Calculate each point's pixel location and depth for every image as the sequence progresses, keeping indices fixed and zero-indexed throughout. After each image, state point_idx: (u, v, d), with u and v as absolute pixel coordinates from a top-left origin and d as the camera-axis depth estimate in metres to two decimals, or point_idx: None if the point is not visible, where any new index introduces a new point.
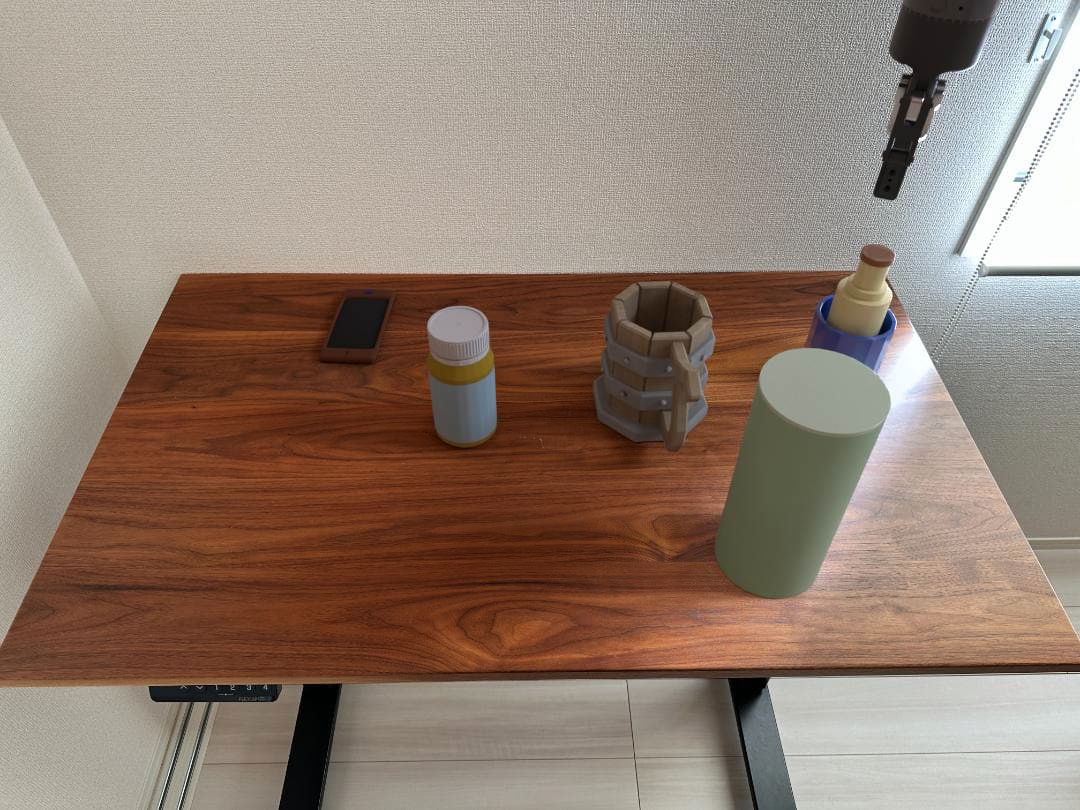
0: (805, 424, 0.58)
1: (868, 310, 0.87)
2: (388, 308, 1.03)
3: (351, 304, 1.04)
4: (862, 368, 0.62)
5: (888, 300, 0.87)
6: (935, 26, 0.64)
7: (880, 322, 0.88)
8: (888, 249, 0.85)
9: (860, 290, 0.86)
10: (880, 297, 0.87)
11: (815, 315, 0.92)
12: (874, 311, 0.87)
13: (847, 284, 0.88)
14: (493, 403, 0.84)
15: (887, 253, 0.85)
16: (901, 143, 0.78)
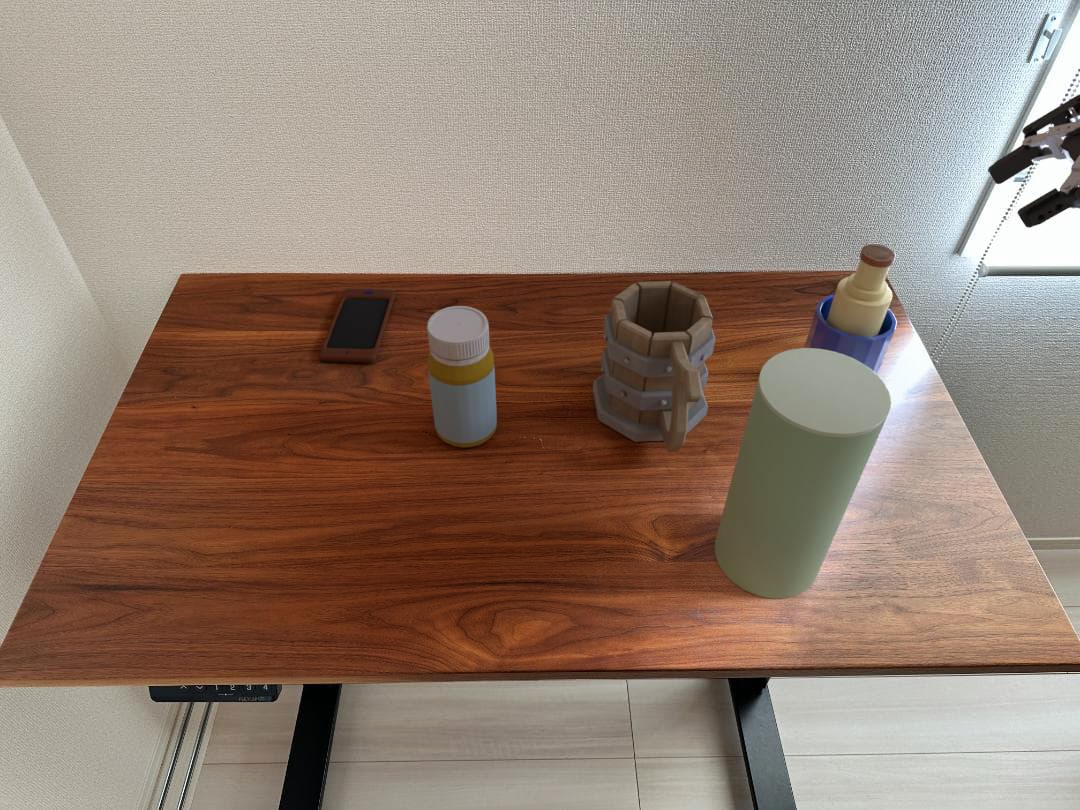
0: (805, 424, 0.58)
1: (868, 310, 0.87)
2: (388, 308, 1.03)
3: (351, 304, 1.04)
4: (862, 368, 0.62)
5: (888, 300, 0.87)
6: None
7: (880, 322, 0.88)
8: (888, 249, 0.85)
9: (860, 290, 0.86)
10: (880, 297, 0.87)
11: (815, 315, 0.92)
12: (874, 311, 0.87)
13: (847, 284, 0.88)
14: (493, 403, 0.84)
15: (887, 253, 0.85)
16: None
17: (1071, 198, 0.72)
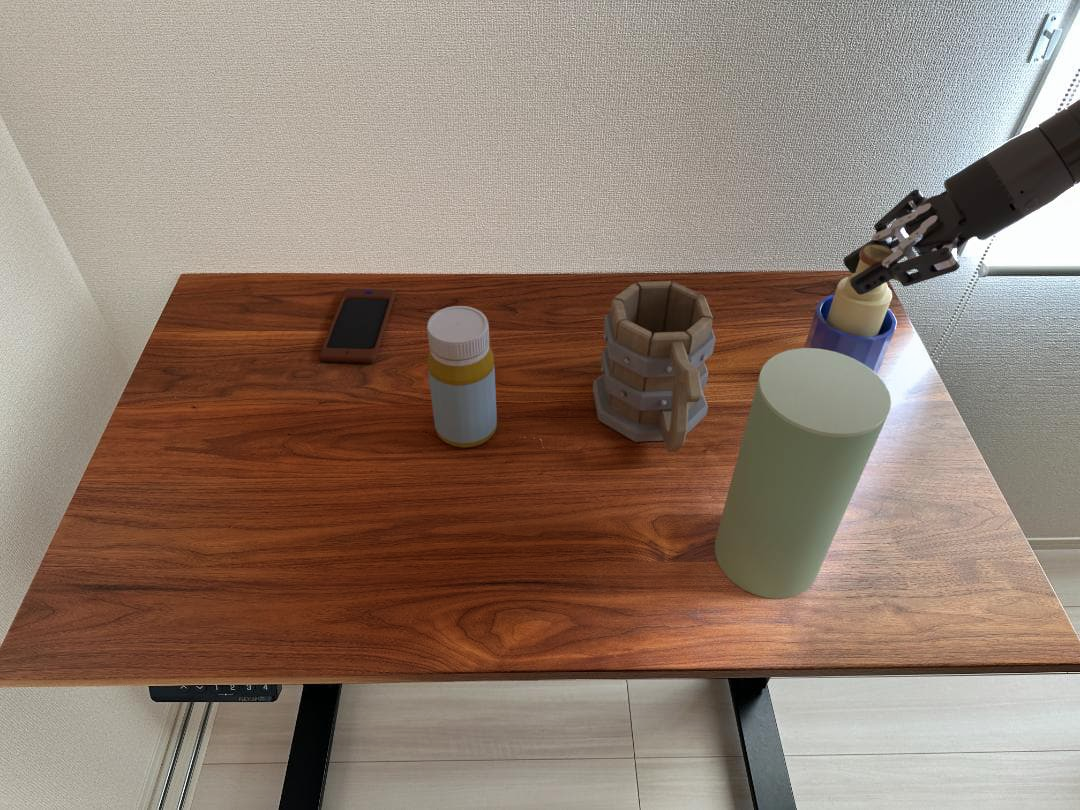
0: (805, 424, 0.58)
1: (868, 310, 0.86)
2: (388, 308, 1.03)
3: (351, 304, 1.04)
4: (862, 368, 0.62)
5: (888, 300, 0.87)
6: None
7: (880, 322, 0.88)
8: (888, 249, 0.85)
9: None
10: (880, 297, 0.87)
11: (815, 315, 0.92)
12: (874, 311, 0.87)
13: (847, 284, 0.88)
14: (493, 403, 0.84)
15: (887, 253, 0.85)
16: None
17: (890, 271, 0.82)
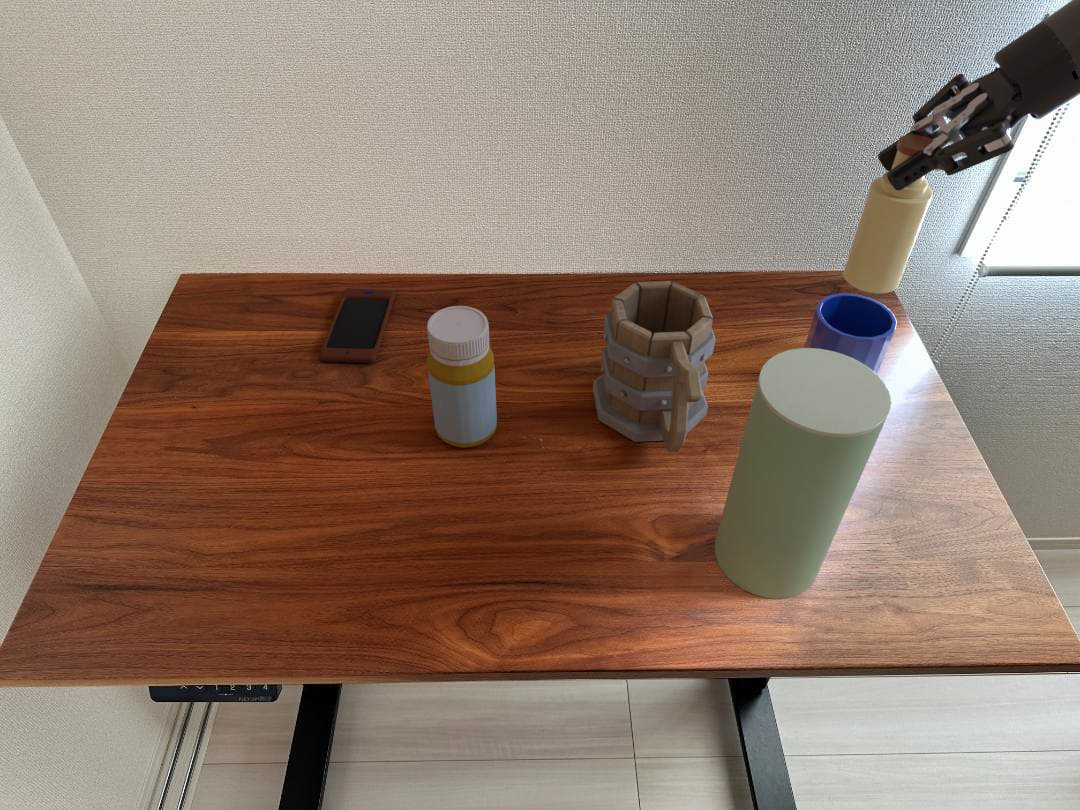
0: (805, 424, 0.58)
1: (906, 209, 0.78)
2: (388, 308, 1.03)
3: (351, 304, 1.04)
4: (862, 368, 0.62)
5: (928, 198, 0.78)
6: None
7: (919, 224, 0.80)
8: (929, 139, 0.77)
9: None
10: (919, 194, 0.78)
11: (815, 315, 0.92)
12: (913, 210, 0.78)
13: (882, 182, 0.79)
14: (493, 403, 0.84)
15: (928, 142, 0.76)
16: None
17: (933, 159, 0.73)
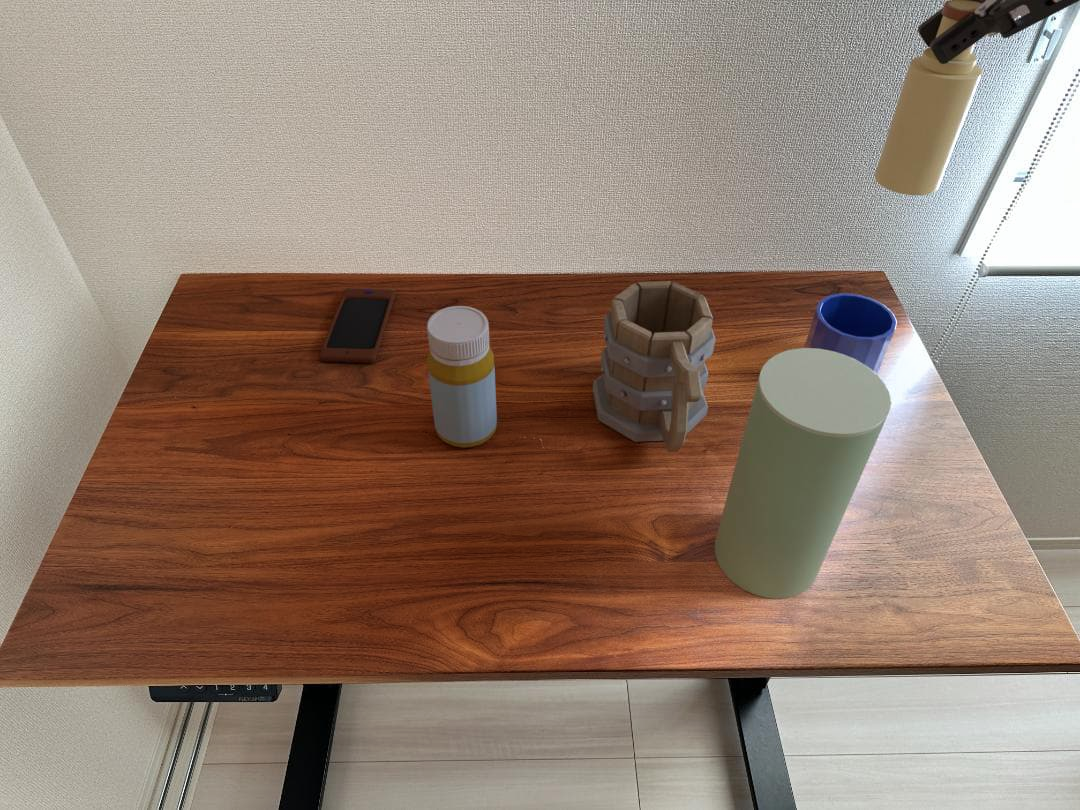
0: (805, 424, 0.58)
1: (952, 86, 0.67)
2: (388, 308, 1.03)
3: (351, 304, 1.04)
4: (862, 368, 0.62)
5: (978, 74, 0.67)
6: None
7: (965, 108, 0.69)
8: (979, 3, 0.66)
9: None
10: (967, 69, 0.67)
11: (815, 315, 0.92)
12: (960, 88, 0.67)
13: (923, 57, 0.68)
14: (493, 403, 0.84)
15: None
16: None
17: (986, 20, 0.63)
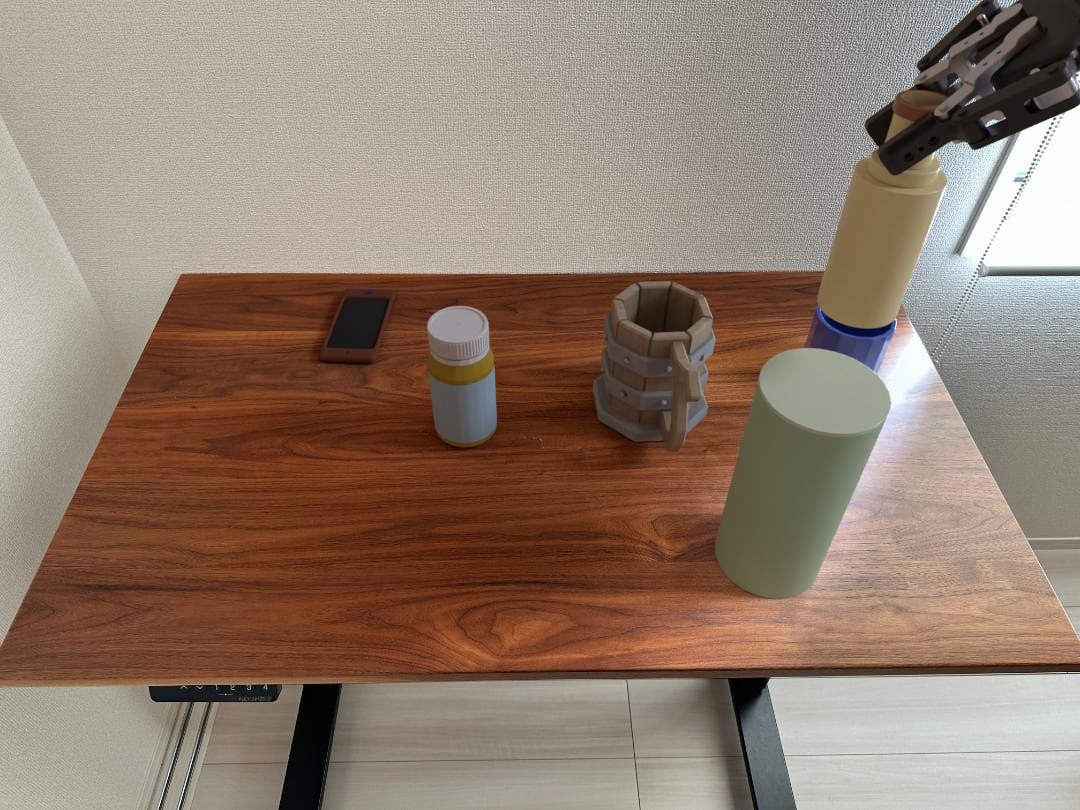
0: (805, 424, 0.58)
1: (908, 203, 0.51)
2: (388, 308, 1.03)
3: (351, 304, 1.04)
4: (862, 368, 0.62)
5: (941, 186, 0.51)
6: None
7: (927, 227, 0.53)
8: (942, 95, 0.50)
9: None
10: (928, 181, 0.51)
11: (815, 315, 0.92)
12: (918, 206, 0.51)
13: (871, 162, 0.52)
14: (493, 403, 0.84)
15: (941, 100, 0.49)
16: None
17: (949, 125, 0.46)
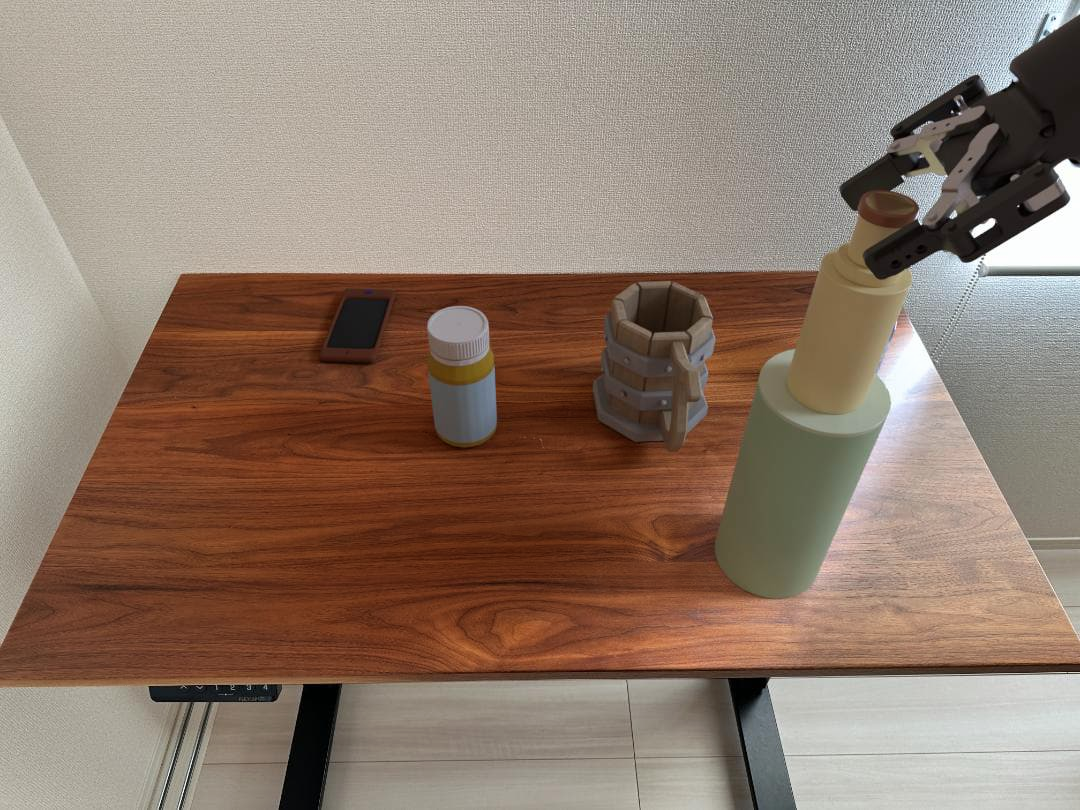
0: (805, 424, 0.58)
1: (873, 303, 0.51)
2: (388, 308, 1.03)
3: (351, 304, 1.04)
4: None
5: (906, 286, 0.51)
6: None
7: (892, 323, 0.53)
8: (906, 198, 0.50)
9: (859, 269, 0.51)
10: (892, 280, 0.51)
11: None
12: (882, 305, 0.51)
13: (837, 259, 0.53)
14: (493, 403, 0.84)
15: (905, 204, 0.49)
16: None
17: (937, 236, 0.44)
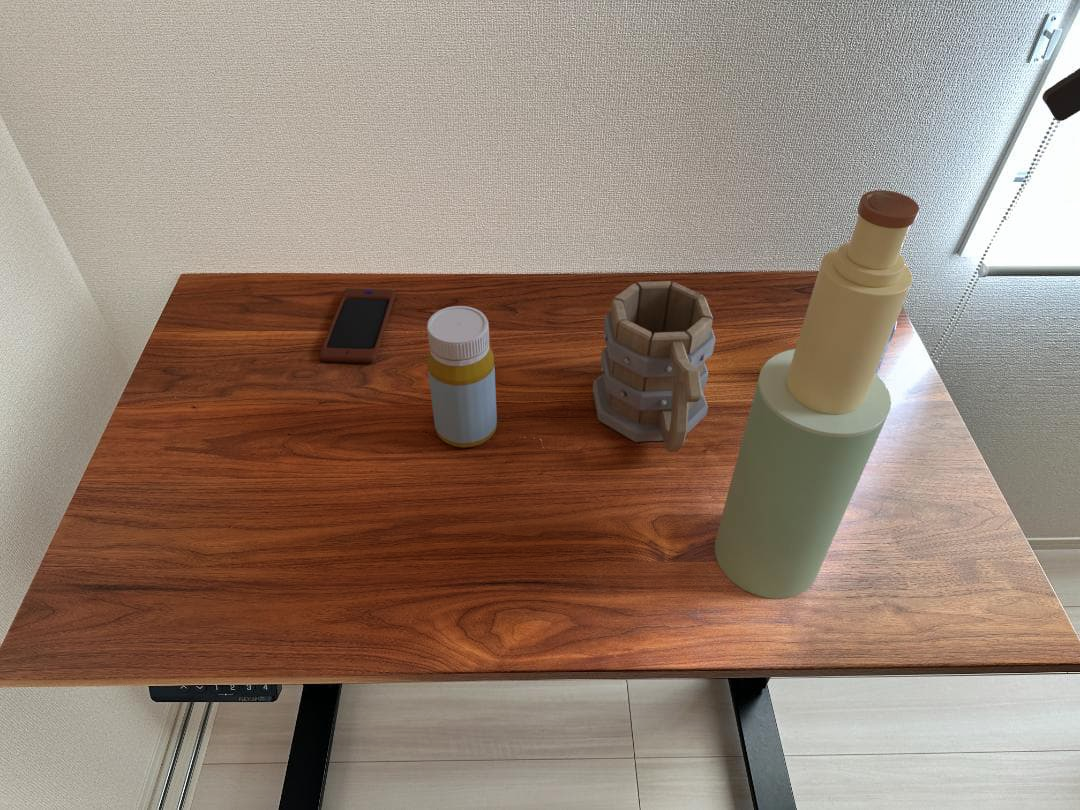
0: (805, 424, 0.58)
1: (873, 303, 0.51)
2: (388, 308, 1.03)
3: (351, 304, 1.04)
4: None
5: (906, 286, 0.51)
6: None
7: (892, 323, 0.53)
8: (906, 198, 0.50)
9: (859, 269, 0.51)
10: (892, 280, 0.51)
11: None
12: (882, 305, 0.51)
13: (837, 259, 0.53)
14: (493, 403, 0.84)
15: (905, 204, 0.49)
16: None
17: None
